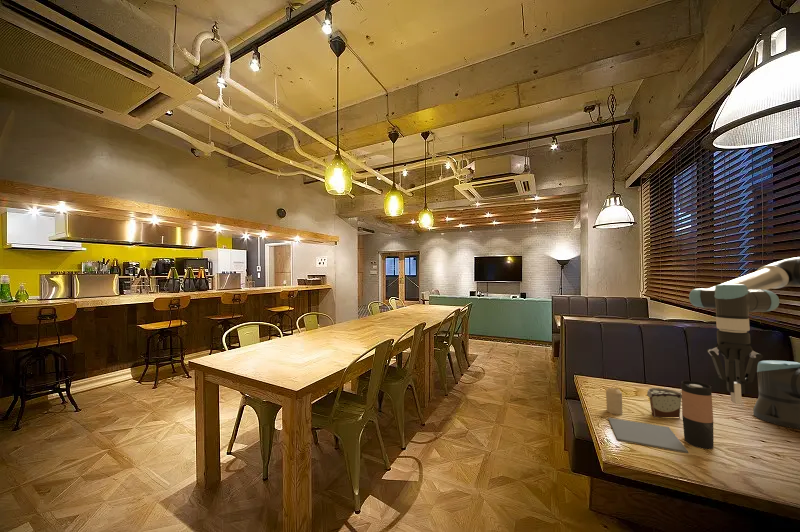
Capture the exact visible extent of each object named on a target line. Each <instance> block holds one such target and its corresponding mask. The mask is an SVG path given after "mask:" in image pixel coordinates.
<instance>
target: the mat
mask: <svg viewBox="0 0 800 532" xmlns="http://www.w3.org/2000/svg"><path fill="white" fill-rule="evenodd" d="M607 418H608V421H609V423H610V427H611V428H612V431H613V433H614V436H615V438H616V440H617V441H619V442H625V443H629V444H635V443H636V445H640V444H641V446H646V445H647V446H646V447H651V446H652V448H656V447H658V448H657V449H662V448H664V450H667V449H669V451H673V452H678V453H679V452H680V453H684V454H689V451H688V449H687V448H686V446H684V444H683V443H682V442H681V440H679V438H678V437H677V436H676V434H675V432H673V430H672V429H671V428H670V426H664V425H658V424H652V423H651V424H650V423H645V422H640V421H633V420H632V421H631V420H625V419H620V418H613V417H607Z"/></svg>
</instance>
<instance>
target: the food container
mask: <svg viewBox="0 0 800 532" xmlns="http://www.w3.org/2000/svg"><path fill="white" fill-rule="evenodd" d="M646 395H647V397H648V399H649V403H650V410H651V415H653V416H654V417H653V418H655V417H679V418H678V419H681V418H680V417H681V408H682V392H680V391H676V390H672V389H667V388H662V387H661V388H660V387H651V388H648V390H647V392H646Z"/></svg>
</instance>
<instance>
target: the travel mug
mask: <svg viewBox="0 0 800 532" xmlns="http://www.w3.org/2000/svg"><path fill="white" fill-rule="evenodd" d="M680 384H681V386H680V387H681V395H682V398H681V413H682V414H681V415H682V416H681V417H682V425H683V427H682V428H683V437H684V438H683V439H684V441H686V442H685V443H687V444H688V445H691V446H693V447H695V448H698V449H702V448H703V449H702V450H713V449H714V412H713V411H714V410H713V396H712V395H713V394H712V393H713V392H712V386H711V385H709V384H707V383H704V382H700V381H699V382H698V381H693V380H681V383H680Z"/></svg>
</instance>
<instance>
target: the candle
mask: <svg viewBox="0 0 800 532" xmlns="http://www.w3.org/2000/svg"><path fill="white" fill-rule="evenodd" d="M605 398H606V401H605V402H606V411H607V412H608V413H611V414H613V415H618V414H620V415H623V392H622V391H621V390H620V388H619V387H610V386H609V387H608V388H607V389H606V390H605Z"/></svg>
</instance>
